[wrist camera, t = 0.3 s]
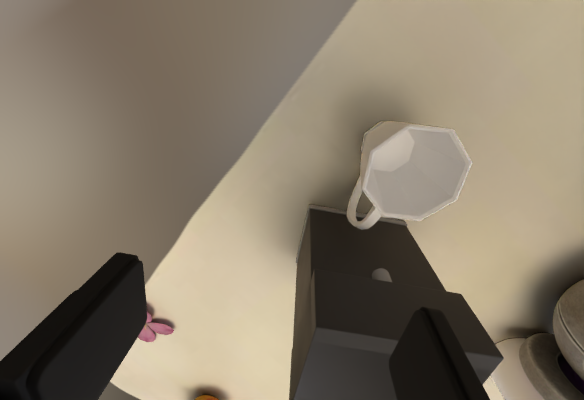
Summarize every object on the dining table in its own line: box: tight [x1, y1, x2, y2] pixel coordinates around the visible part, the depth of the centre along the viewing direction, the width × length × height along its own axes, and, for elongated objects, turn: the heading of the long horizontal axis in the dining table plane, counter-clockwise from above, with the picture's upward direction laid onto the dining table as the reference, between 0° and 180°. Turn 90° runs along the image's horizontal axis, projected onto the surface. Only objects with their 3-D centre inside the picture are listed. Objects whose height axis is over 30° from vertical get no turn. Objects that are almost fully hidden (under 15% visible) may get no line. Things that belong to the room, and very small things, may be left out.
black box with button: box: [289, 204, 504, 400], centre depth 23 cm, size 8×10×16 cm
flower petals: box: [138, 312, 174, 342], centre depth 37 cm, size 8×8×1 cm
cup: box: [347, 121, 473, 230], centre depth 22 cm, size 7×10×8 cm
